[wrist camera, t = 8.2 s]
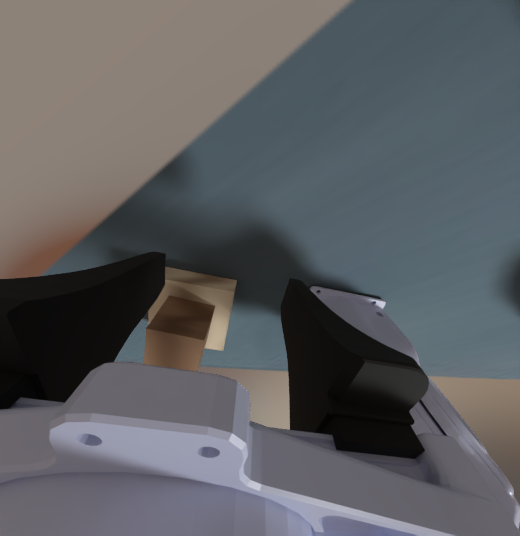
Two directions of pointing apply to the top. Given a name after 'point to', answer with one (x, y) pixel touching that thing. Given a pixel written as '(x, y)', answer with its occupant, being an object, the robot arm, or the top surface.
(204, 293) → the maple block
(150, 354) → the walnut cube
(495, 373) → the top surface
